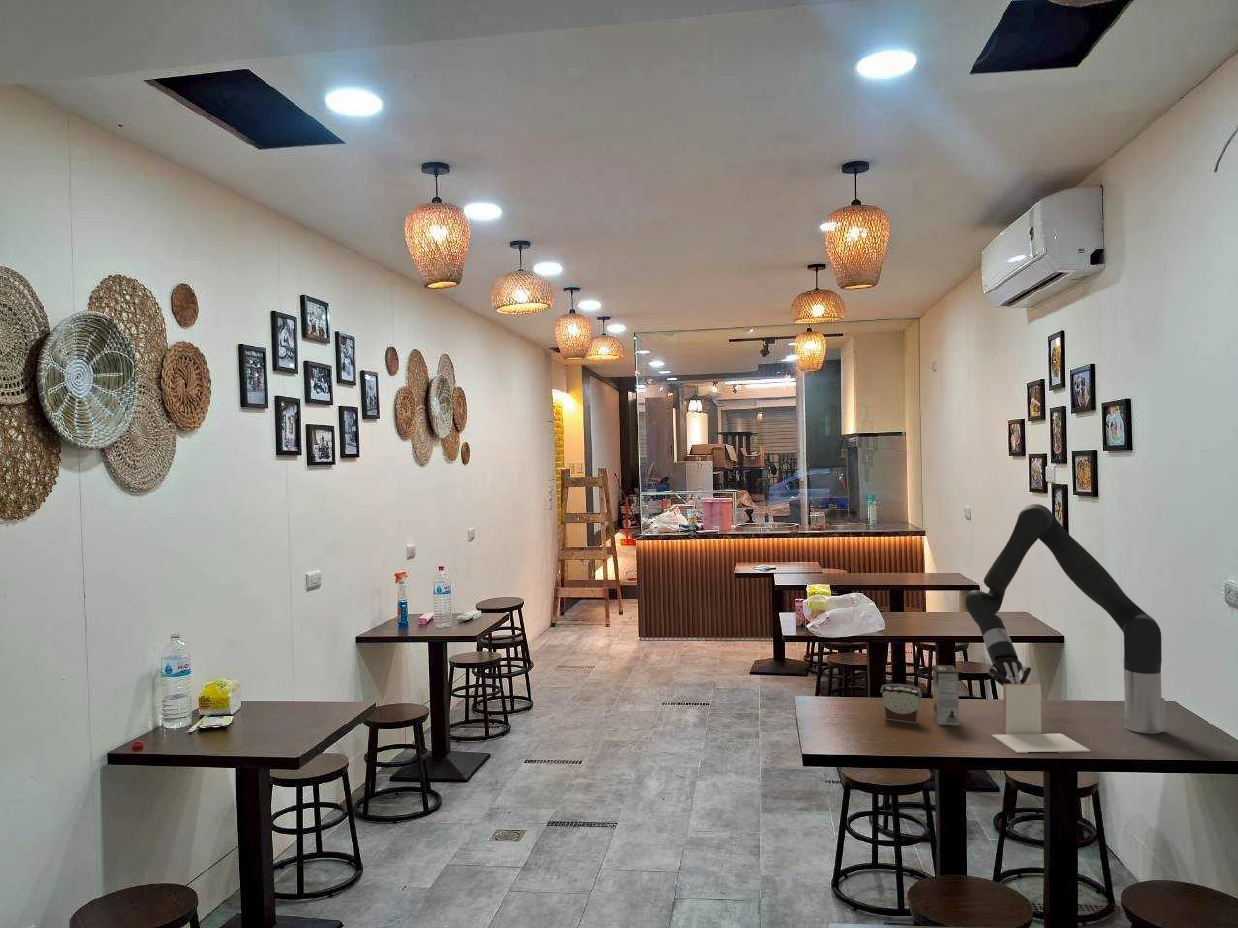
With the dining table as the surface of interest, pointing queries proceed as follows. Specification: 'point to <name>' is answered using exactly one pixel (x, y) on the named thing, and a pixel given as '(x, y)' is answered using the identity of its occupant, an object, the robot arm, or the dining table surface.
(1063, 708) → the dining table surface
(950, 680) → the coffee box
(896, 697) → the food container
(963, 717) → the dining table surface
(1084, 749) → the mat
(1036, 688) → the tan flat block
